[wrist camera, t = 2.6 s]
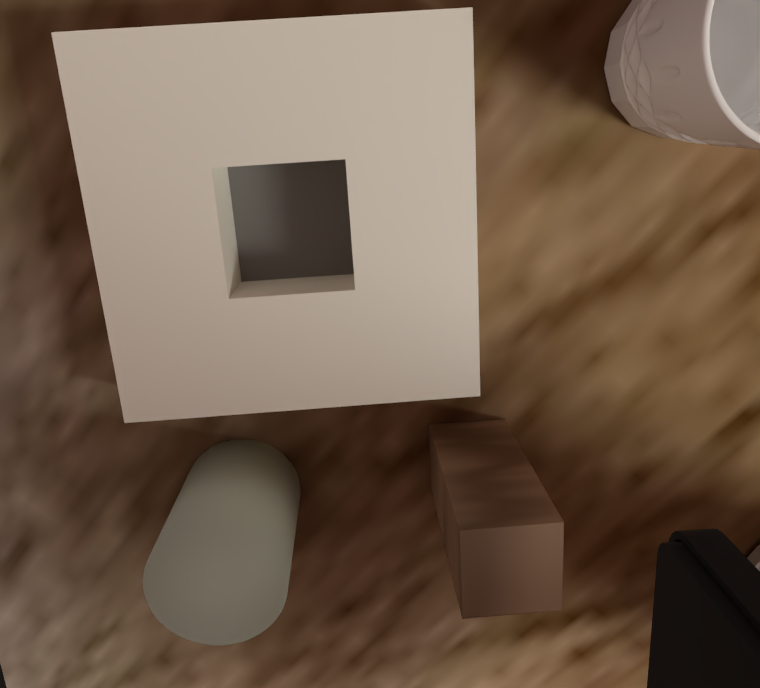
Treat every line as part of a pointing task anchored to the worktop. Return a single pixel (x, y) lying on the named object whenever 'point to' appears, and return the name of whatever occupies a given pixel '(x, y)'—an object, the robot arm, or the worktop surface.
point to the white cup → (688, 70)
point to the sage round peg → (226, 546)
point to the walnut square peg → (495, 521)
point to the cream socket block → (281, 209)
